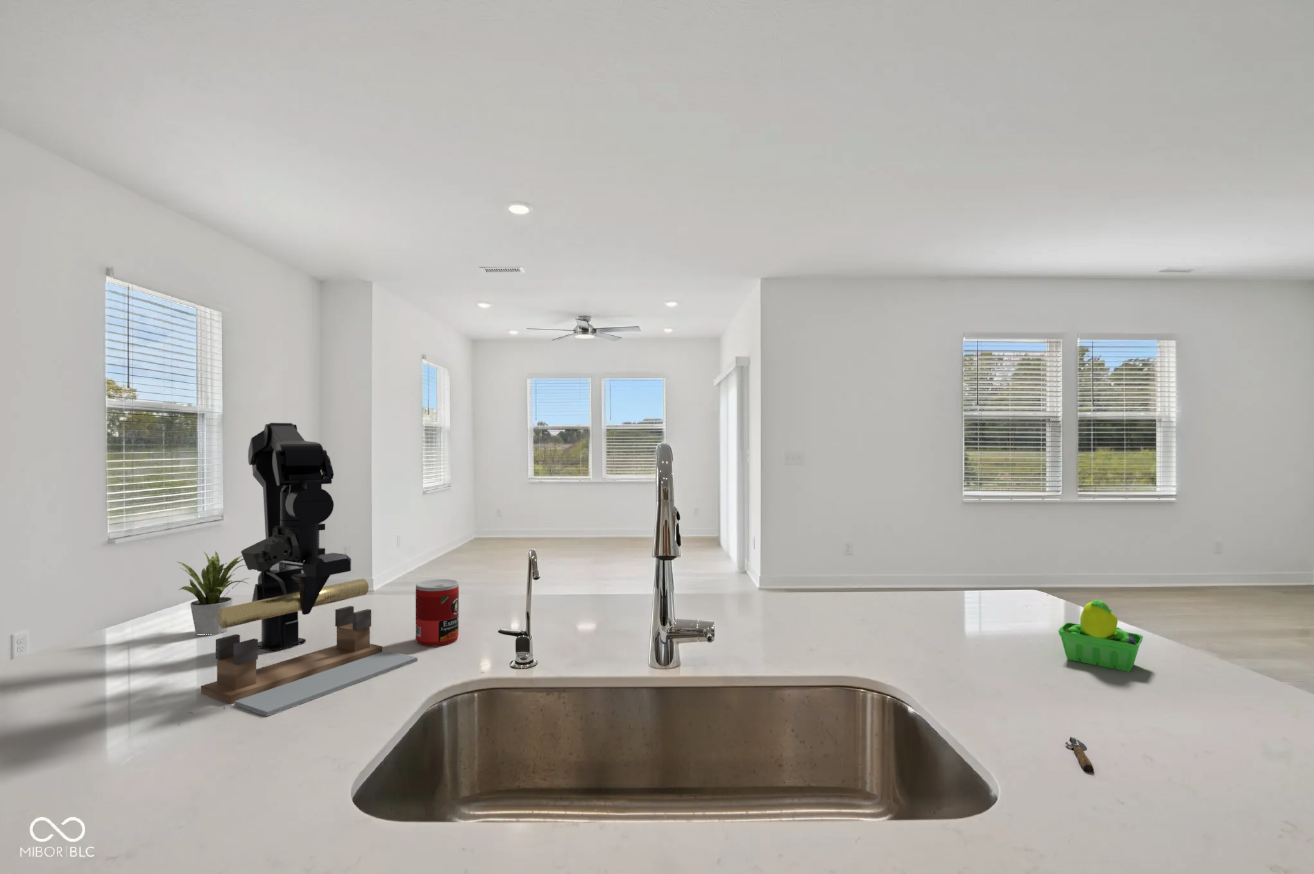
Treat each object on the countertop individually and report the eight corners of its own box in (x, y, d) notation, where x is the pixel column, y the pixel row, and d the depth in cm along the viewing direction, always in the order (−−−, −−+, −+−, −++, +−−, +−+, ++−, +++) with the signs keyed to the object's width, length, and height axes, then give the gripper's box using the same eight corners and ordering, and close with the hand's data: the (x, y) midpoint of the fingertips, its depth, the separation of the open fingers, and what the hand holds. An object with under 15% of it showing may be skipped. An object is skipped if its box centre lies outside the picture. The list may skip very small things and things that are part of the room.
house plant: (272, 629, 132) (272, 549, 133) (195, 647, 121) (195, 559, 121) (237, 619, 140) (237, 543, 140) (161, 635, 128) (162, 552, 128)
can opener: (1094, 776, 74) (1094, 765, 74) (1070, 771, 76) (1070, 761, 76) (1085, 744, 82) (1084, 735, 82) (1063, 740, 84) (1063, 731, 84)
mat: (234, 705, 94) (234, 701, 94) (386, 653, 117) (386, 650, 117) (267, 716, 90) (267, 712, 90) (417, 660, 113) (417, 657, 113)
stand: (230, 703, 95) (230, 648, 95) (200, 693, 98) (201, 640, 98) (382, 652, 117) (382, 608, 117) (353, 646, 121) (353, 603, 121)
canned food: (446, 648, 120) (446, 588, 120) (406, 645, 122) (407, 586, 122) (466, 636, 128) (466, 579, 128) (429, 633, 129) (429, 578, 129)
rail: (228, 629, 97) (228, 609, 97) (217, 627, 98) (217, 607, 98) (368, 596, 118) (368, 579, 118) (357, 594, 119) (357, 577, 119)
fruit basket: (1144, 664, 111) (1143, 598, 111) (1136, 678, 105) (1136, 607, 105) (1066, 649, 119) (1066, 587, 119) (1055, 661, 112) (1055, 596, 112)
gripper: (216, 520, 105) (216, 617, 105) (286, 527, 97) (286, 633, 96) (284, 514, 115) (284, 602, 115) (353, 519, 106) (353, 615, 106)
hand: (299, 613), depth 108 cm, fingers closed on rail, 3 cm apart
